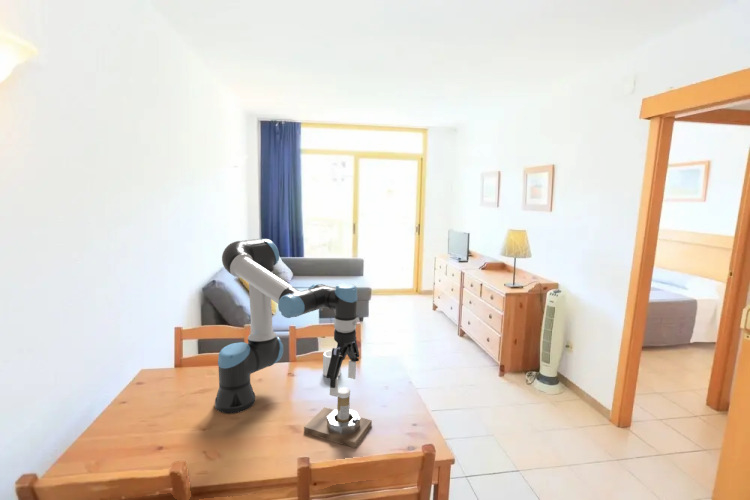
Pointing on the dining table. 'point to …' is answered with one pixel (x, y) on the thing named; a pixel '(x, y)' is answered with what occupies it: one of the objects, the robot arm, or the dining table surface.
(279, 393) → the dining table surface
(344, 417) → the sprinkles bottle
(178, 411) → the dining table surface
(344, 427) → the ring
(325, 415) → the block
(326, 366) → the mug
